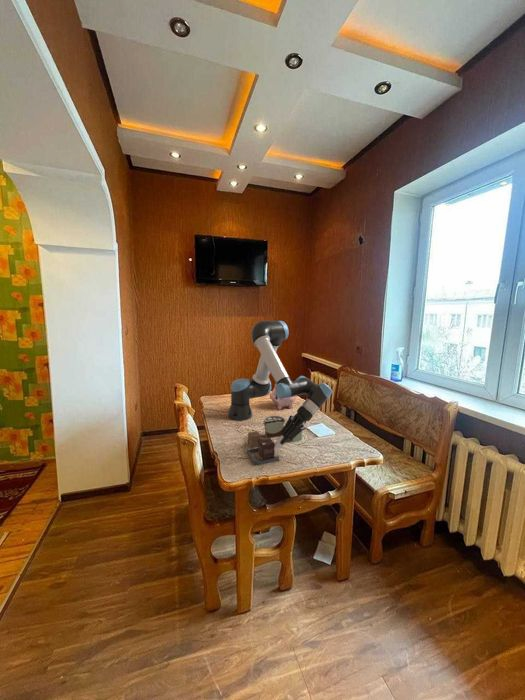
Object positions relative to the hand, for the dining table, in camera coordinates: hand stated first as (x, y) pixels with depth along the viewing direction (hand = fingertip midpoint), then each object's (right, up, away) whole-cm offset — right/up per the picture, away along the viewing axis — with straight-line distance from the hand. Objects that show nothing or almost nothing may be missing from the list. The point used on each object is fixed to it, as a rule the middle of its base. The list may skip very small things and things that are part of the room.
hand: (275, 448), depth 131 cm
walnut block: (-10, -2, +10) cm, 14 cm away
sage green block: (+11, -1, +17) cm, 21 cm away
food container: (-1, 0, +21) cm, 21 cm away
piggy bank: (+8, +6, +64) cm, 65 cm away
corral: (-6, -4, -1) cm, 7 cm away
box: (-4, -4, 0) cm, 6 cm away
